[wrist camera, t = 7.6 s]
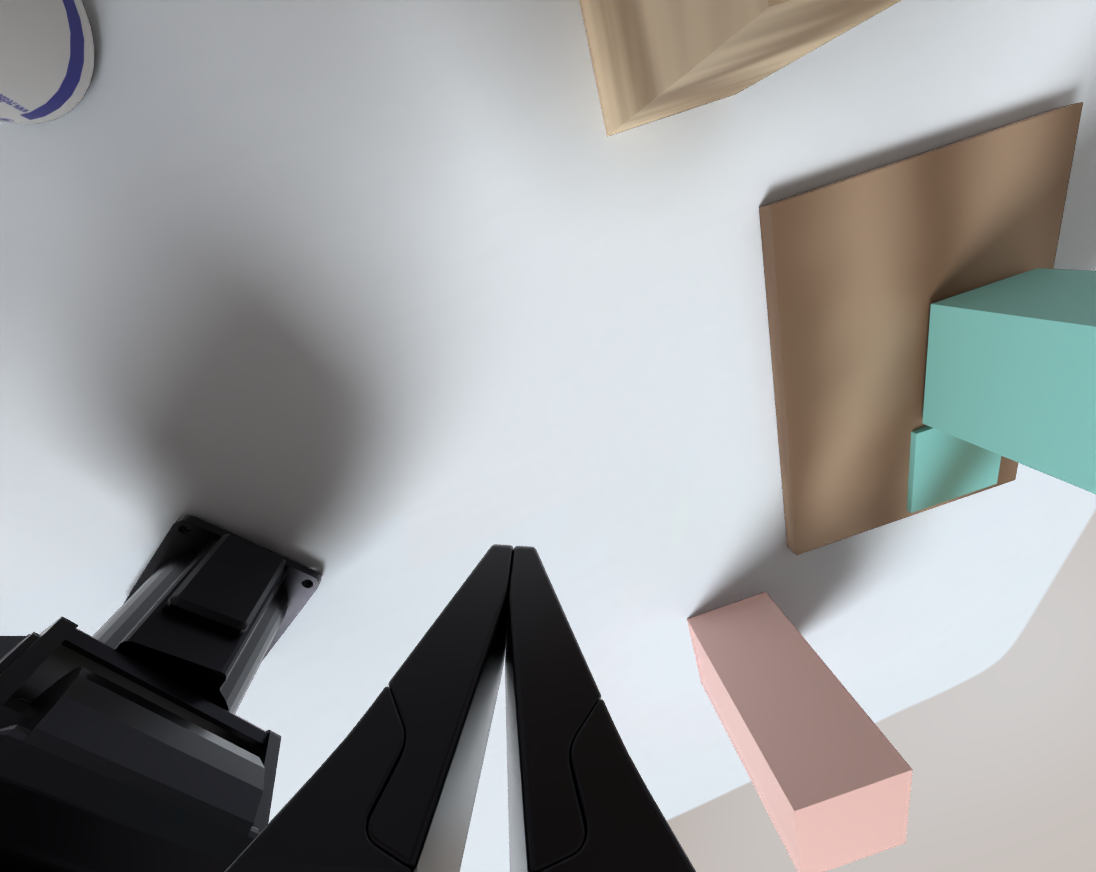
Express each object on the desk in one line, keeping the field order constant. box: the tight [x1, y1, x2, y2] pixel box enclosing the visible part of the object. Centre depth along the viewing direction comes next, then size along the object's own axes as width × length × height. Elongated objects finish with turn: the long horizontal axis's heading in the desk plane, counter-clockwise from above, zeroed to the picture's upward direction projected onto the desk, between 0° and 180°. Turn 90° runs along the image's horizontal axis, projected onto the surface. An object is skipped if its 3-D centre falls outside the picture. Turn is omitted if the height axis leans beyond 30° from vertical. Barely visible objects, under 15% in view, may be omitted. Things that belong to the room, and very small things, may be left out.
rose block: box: [687, 592, 913, 872], centre depth 24 cm, size 5×6×10 cm
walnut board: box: [759, 102, 1083, 555], centre depth 22 cm, size 13×18×1 cm
